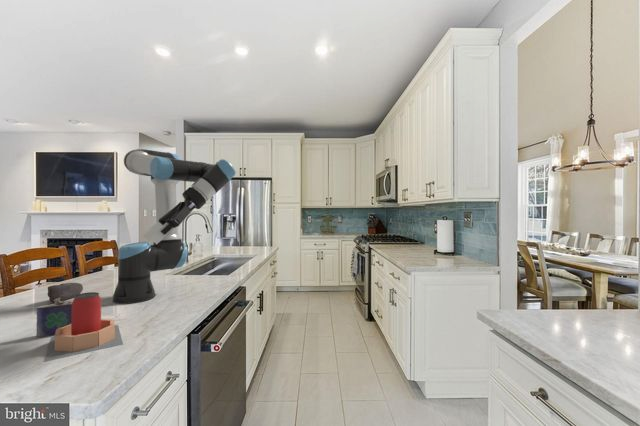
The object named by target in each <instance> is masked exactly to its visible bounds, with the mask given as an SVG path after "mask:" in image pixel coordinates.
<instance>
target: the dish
mask: <svg viewBox="0 0 640 426" xmlns="http://www.w3.org/2000/svg"><path fill="white" fill-rule="evenodd" d="M115 325H116V324H115V320H114V319H111V318H110V319H109V318H101V330H99V331H96V332H90V333H85V334H80V335H71V324H69V325H67V326H64V327H61V328H59V329H57V330H56V332H55V335H54V337H55V348H54V350H55V351H68V352H74V351H79V350H84V349H88V348H93V347H98V346H100V345H102V344H104V343H106V342H108V341H110V340H112V339H114V338H115Z"/></svg>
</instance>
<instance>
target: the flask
mask: <svg viewBox="0 0 640 426" xmlns="http://www.w3.org/2000/svg"><path fill="white" fill-rule="evenodd" d="M54 301H55V302H53V303H54V304H46V305H45V304H44V305H40V306H37V307H36V325H35V327H36V335H35V337H36V338H42V337H49V336H55V332H56V330H57V329H59V328H61V327H64V326H67V325H69V324H71V310H72V302H73V301H69V300H68V301H64V300H63V301H60V298H57V299H55V300H54Z"/></svg>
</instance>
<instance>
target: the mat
mask: <svg viewBox="0 0 640 426" xmlns="http://www.w3.org/2000/svg"><path fill="white" fill-rule="evenodd" d="M122 345H124V342H123V339H122V334H121V332H120V327H119V324H115V338H114V339H112V340H110V341H108V342H106V343H104V344H102V345H100V346H98V347H93V348H88V349H84V350H79V351H74V352H68V351H55V350H54V348H55V336H51V337H50V340H49V343H48V346H47V350H46V353H45V357H44V360H43V362H44V363H45V362H49V361H55V360H60V359H64V358H67V357H72V356H76V355H77V356H78V355H81V354H86V353H91V352H96V351H100V350H105V349H108V348H113V347H119V346H122Z"/></svg>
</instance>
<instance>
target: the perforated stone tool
mask: <svg viewBox="0 0 640 426" xmlns="http://www.w3.org/2000/svg"><path fill="white" fill-rule="evenodd" d="M83 289H84V286H83V284H81V283H79V282H66V283H60V284H53V285H49V286H47V296H48V297H49V298H48V300H49V302H51V303H54V302H55V301H54V300H55V299H57V298H60V301H63V302H64V301H66V300H70V299H74V296H75V295H78V294H82V293H83Z"/></svg>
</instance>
